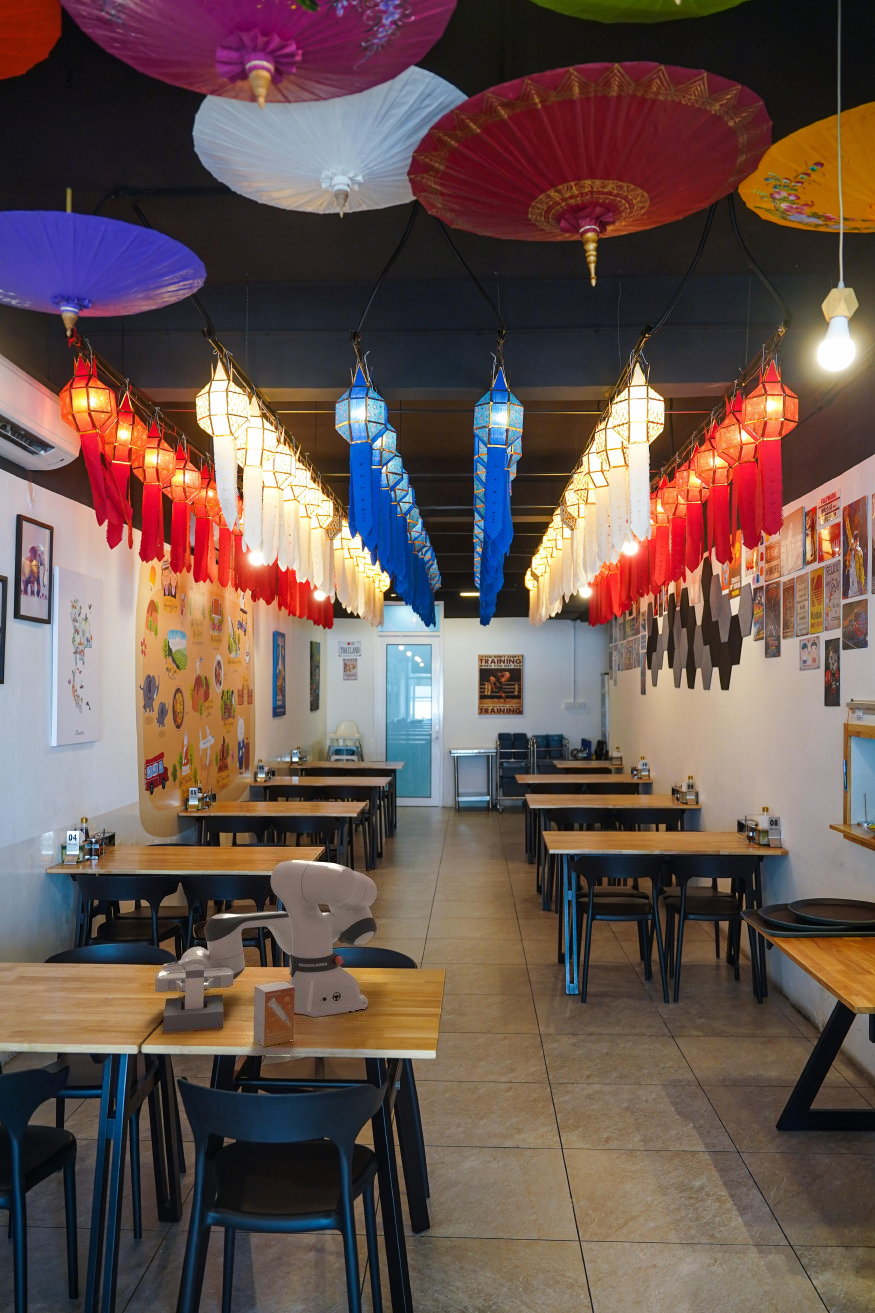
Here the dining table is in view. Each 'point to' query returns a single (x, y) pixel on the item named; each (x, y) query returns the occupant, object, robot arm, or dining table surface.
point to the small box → (273, 1013)
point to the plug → (194, 987)
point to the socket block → (193, 1014)
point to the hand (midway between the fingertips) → (194, 988)
